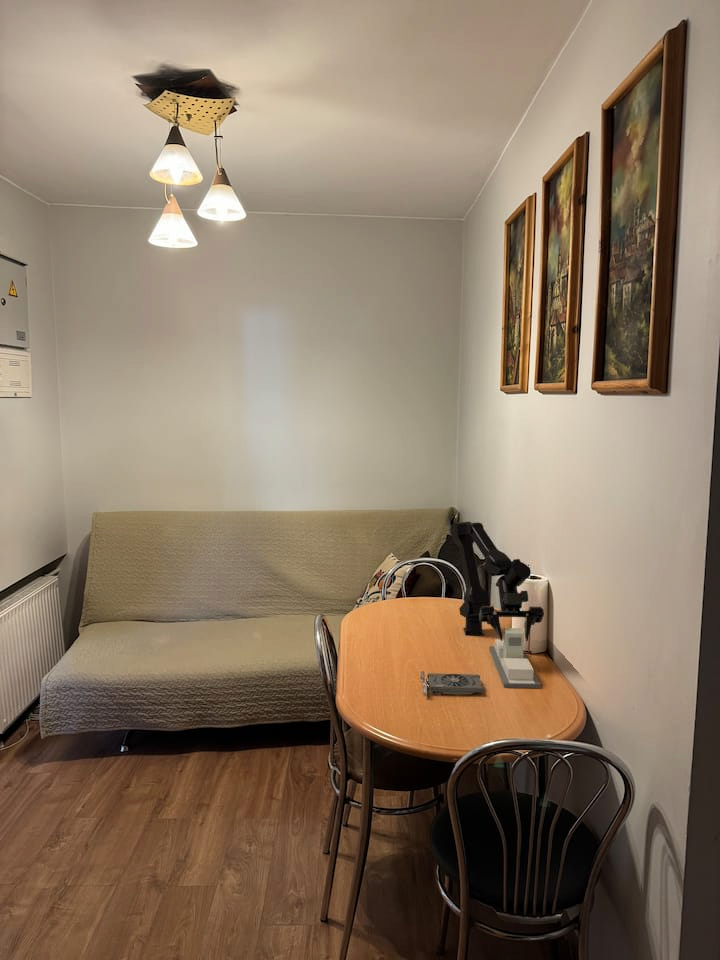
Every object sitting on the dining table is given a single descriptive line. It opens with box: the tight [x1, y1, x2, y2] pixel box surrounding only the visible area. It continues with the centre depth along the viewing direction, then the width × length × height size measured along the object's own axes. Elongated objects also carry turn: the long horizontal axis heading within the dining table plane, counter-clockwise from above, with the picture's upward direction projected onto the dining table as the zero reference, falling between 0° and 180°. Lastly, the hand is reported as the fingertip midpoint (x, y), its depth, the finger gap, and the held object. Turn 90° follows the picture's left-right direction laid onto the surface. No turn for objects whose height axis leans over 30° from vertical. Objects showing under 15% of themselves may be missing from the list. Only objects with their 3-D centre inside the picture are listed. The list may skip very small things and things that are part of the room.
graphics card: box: [419, 670, 484, 700], centre depth 173 cm, size 17×4×12 cm
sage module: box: [503, 627, 525, 658], centre depth 188 cm, size 5×5×10 cm
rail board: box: [488, 638, 541, 689], centre depth 188 cm, size 28×10×4 cm, turn 177°
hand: (514, 640), depth 186 cm, fingers open, 7 cm apart
